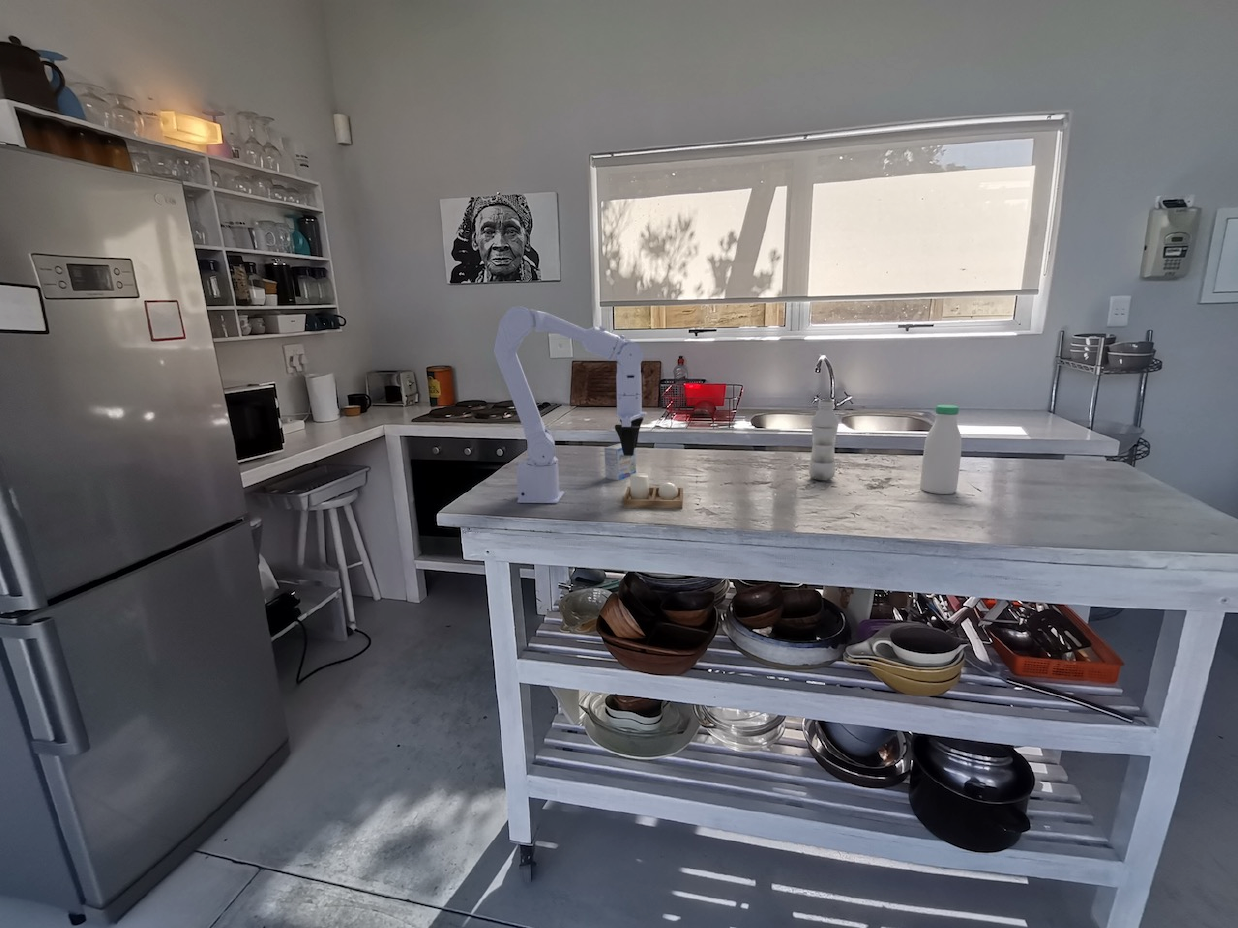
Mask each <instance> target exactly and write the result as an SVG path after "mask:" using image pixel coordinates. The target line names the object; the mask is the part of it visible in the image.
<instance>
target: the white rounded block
mask: <svg viewBox="0 0 1238 928" xmlns="http://www.w3.org/2000/svg"><path fill="white" fill-rule="evenodd" d="M649 477H650V475H649V474H648V473H645V472H636V473H634V474H631V475H630V477H629V483H630V484H629V485H630V486H629V487H630V494H631V499H637V500H649V487H650V479H649Z"/></svg>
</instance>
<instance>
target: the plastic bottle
mask: <svg viewBox="0 0 1238 928" xmlns="http://www.w3.org/2000/svg"><path fill="white" fill-rule="evenodd" d="M817 409H818V411H817V412H816V413H815V414H814V416H813V417H812V418H811V419H812V420H811V433H812V434H811V435H812V448H811V453H810V454H811V456H810V461H809V465H808V474H809V476H810V478H811V479H812V480H813V479H814V480H817V481H829V480H832V479H833V478H834V477H835V473H836V462H835V444H836V438H837V433H838V429H839V424H840V423H839V418H838V417H837V415H836V413H835V412H834V409H835V400H833V399H819V400H818V404H817Z"/></svg>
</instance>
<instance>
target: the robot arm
mask: <svg viewBox="0 0 1238 928" xmlns="http://www.w3.org/2000/svg"><path fill="white" fill-rule="evenodd" d="M533 328H534V330H535V333H540V332H547V331H548V332H549V331H550V332H551V333H554V334H557V335H560V336H562V337H566V338H568V339H572V340H574V341H577V342H580V343H582V346H583V348H584V350H585V351H586V352H588V353H590V354H594V355H595V356H598V357H601V358H603V359H606V360H609V361H614V360H615V361H616V362H617V363H616V375H615V377H616V417H617V418H618V419H619V422H620V423H621V424H615V425H614V430H615V431H616V433H617V435H618V438H619V440H620V443H621V446H622V451H623V454H624V456H633V453H634V448H637V445H638V440H639V436H640V435H639V434H640V430H641V425H642V423H643V421H644V417H647V416H648V412H646V411H643V405H642V403H643V402H642V401H643V400H642V396H643V395H642V385H643V384H642V373H641V370H642V367H641V366H642V365H641V363H642V362H643V359H644V353H643V349H642V346H640V345H639V344H638V343H637V342H635V341H632V340H631V339H627V338H626V336H625V335H622V334H620V336H619V335H617V334H615V333H612V332H610V331H607V330H606V329H607V328H606V327H604V326H602V325H599V327H598V326H595V325H594V326H592V327H590V328H587V329H586V328H584V327H581V326H579V325H577V324H574V323H572V322H569V321H567V320H565V319H562V318H560V317H558V316H556V315H553V314H551V313H549V312H546V311H541V310H535V309H533V308H531V309H528V308H527V307H525V306H521V305H520V306H513V307H510V308H509V309H508V310H506V311H505V314H503V317H502V319H501V320H500V321H499V324H498V330H497V334H496V339H495V342H494V343H495V344H494V348H493V354H494V356H495V359H496V362H497V364H498V367H499V369H500V372H501V375H502V377H503V380H504V382H505V385H506V387H507V389H508V393H509V395H510V397H511V400H512V403H513V405H514V407H515V410H516V413H517V415H518V417H519V420H520V423H521V426H522V429H523V433H524V437H525V439H526V442H527V450H526V451H527V453H526V454H527V456H528V458H526V461H519V463H518V464H517V467H516V485H517V486H516V489H517V501H516V502H517V503H520V504H522V503H524V504H526V503H527V504H530V503H531V504H557V503H559V501H560V500H561V499H562V497H563V496H564V494H565V492H564V491H563V490H560V480H559V478H560V477H559V462H558V461H559V459H558V458H557V457H556V452H557V451H556V446H555V445H556V440H555V438H554V436H553V434H552V433H551V432H550V431H548V429H547V427H546V425H545V422H544V420H543V419H542V416H541V414H540V411H539V408H538V406H537V403H536V400H535V397H534V395H533V393H532V390H531V387H530V385H529V383H528V379H527V377H526V374H525V372H524V370H523V366H522V364H521V360H520V359H519V356H518V350H519V348H520V347H521V344H522V342H523V340H524V339H525V338H526V337H527V335H529V334H530V332H532V330H533Z"/></svg>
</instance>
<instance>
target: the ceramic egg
mask: <svg viewBox="0 0 1238 928" xmlns="http://www.w3.org/2000/svg"><path fill="white" fill-rule="evenodd" d="M659 487H660V488H659V496H660V498H661V499H662V500H674V499H675V498H676V497H677V495H678V489H677V488H678V487H677V485H676V484H675V483H674V482H670V481H665V482H663V483H662V484H660V486H659Z"/></svg>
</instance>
